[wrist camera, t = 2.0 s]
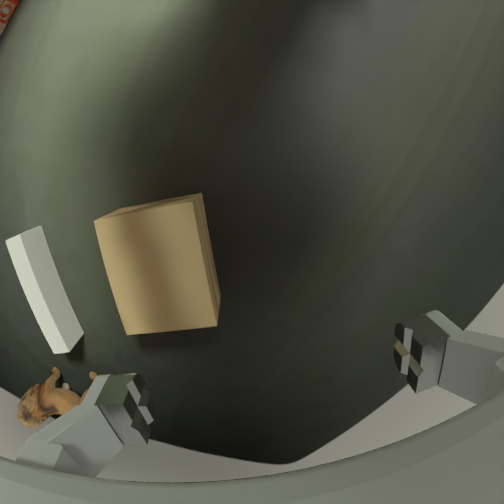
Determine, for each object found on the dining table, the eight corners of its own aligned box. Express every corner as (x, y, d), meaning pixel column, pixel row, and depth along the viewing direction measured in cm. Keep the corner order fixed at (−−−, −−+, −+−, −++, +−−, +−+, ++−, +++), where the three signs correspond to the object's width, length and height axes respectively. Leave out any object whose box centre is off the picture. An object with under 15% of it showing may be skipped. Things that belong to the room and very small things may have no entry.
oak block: (202, 192, 27) (192, 201, 22) (220, 294, 30) (217, 326, 25) (120, 208, 27) (93, 220, 22) (144, 304, 30) (126, 334, 25)
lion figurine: (50, 394, 34) (24, 435, 25) (34, 364, 32) (3, 404, 24) (136, 397, 34) (118, 450, 25) (121, 364, 32) (96, 417, 24)
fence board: (41, 224, 27) (19, 234, 23) (84, 333, 31) (69, 352, 27) (26, 230, 27) (5, 240, 23) (68, 335, 31) (54, 353, 27)
